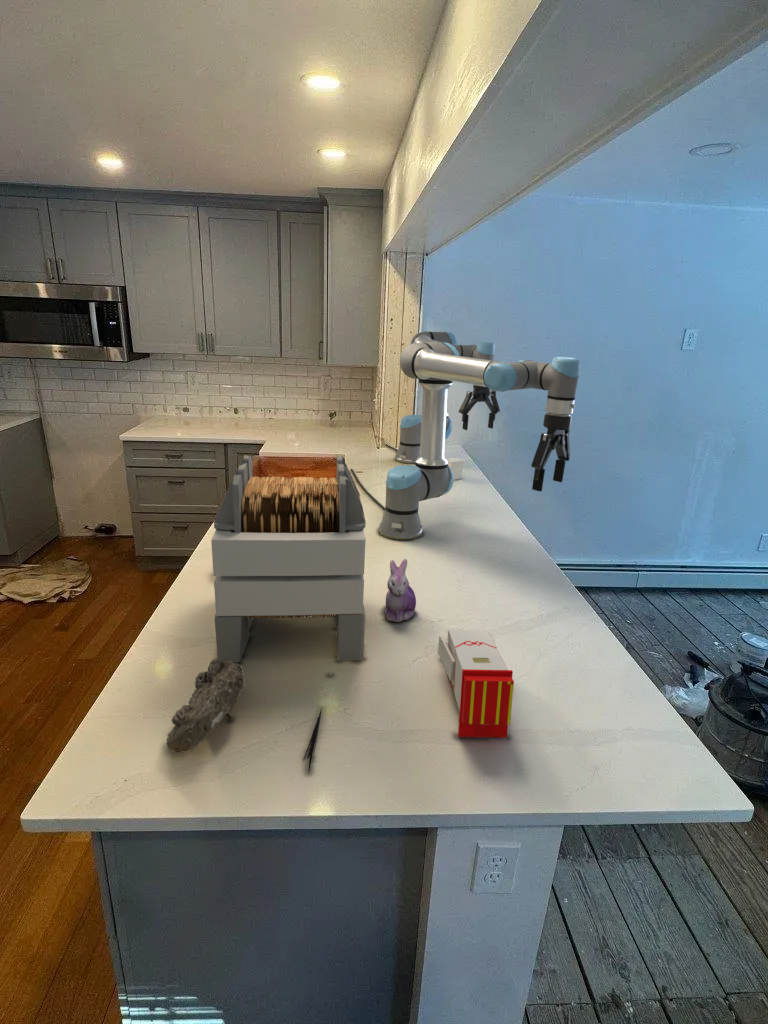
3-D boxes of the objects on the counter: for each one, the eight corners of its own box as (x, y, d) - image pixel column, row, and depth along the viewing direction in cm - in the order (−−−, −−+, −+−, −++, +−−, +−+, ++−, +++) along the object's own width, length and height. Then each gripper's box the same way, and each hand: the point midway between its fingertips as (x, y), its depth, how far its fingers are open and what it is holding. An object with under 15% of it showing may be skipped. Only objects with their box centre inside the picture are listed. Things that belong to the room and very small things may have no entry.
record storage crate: (236, 591, 155) (228, 445, 141) (355, 589, 159) (359, 447, 145) (214, 665, 123) (202, 486, 109) (364, 661, 127) (370, 487, 113)
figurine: (392, 627, 141) (395, 572, 136) (374, 608, 149) (376, 556, 144) (425, 619, 145) (429, 566, 140) (405, 601, 154) (408, 550, 149)
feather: (331, 679, 122) (336, 673, 122) (307, 777, 96) (313, 769, 95) (324, 675, 122) (329, 669, 121) (298, 772, 95) (304, 764, 95)
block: (449, 480, 266) (451, 462, 262) (442, 477, 270) (443, 459, 267) (461, 478, 269) (463, 460, 266) (454, 475, 274) (455, 457, 271)
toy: (488, 613, 130) (523, 677, 101) (484, 667, 133) (517, 744, 104) (435, 612, 130) (455, 676, 101) (432, 666, 133) (451, 743, 103)
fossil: (192, 660, 117) (244, 628, 112) (224, 691, 120) (276, 661, 115) (142, 746, 98) (202, 712, 93) (182, 779, 101) (242, 748, 96)
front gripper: (551, 421, 149) (539, 497, 156) (588, 411, 167) (577, 480, 174) (525, 416, 153) (515, 491, 161) (564, 407, 171) (554, 475, 179)
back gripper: (463, 381, 234) (458, 431, 242) (511, 380, 245) (505, 428, 252) (453, 378, 241) (449, 428, 248) (500, 378, 251) (495, 425, 259)
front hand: (547, 485), depth 167 cm, fingers open, 13 cm apart
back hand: (477, 428), depth 250 cm, fingers open, 13 cm apart
